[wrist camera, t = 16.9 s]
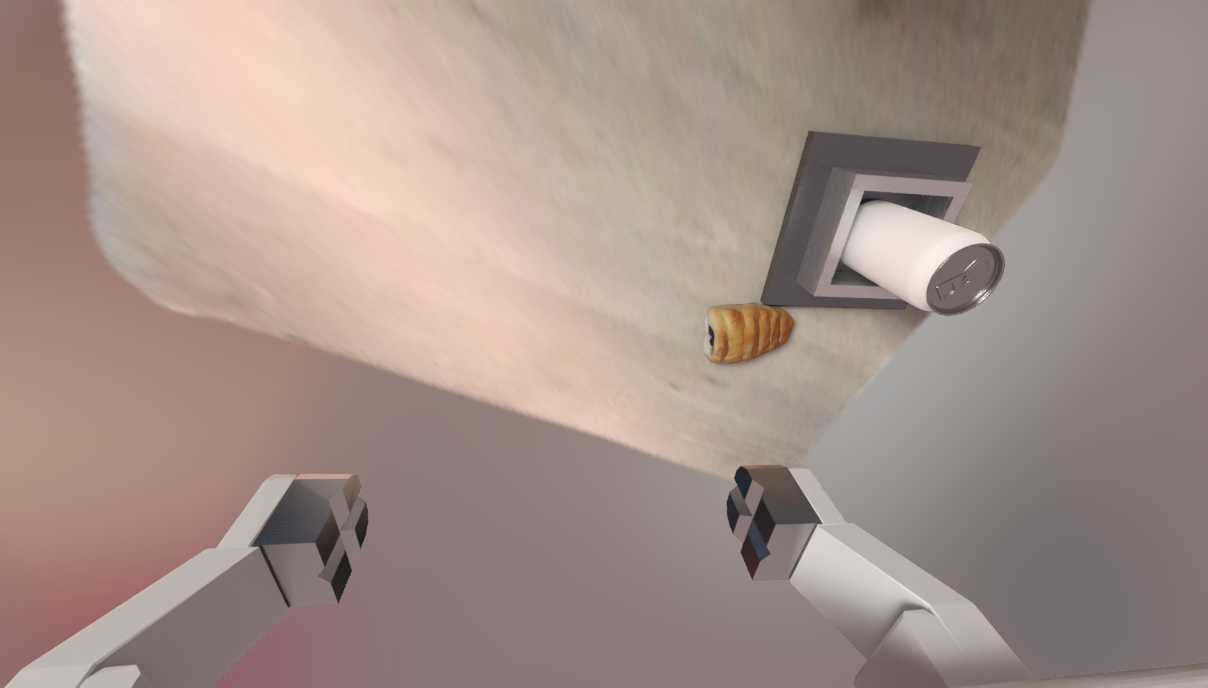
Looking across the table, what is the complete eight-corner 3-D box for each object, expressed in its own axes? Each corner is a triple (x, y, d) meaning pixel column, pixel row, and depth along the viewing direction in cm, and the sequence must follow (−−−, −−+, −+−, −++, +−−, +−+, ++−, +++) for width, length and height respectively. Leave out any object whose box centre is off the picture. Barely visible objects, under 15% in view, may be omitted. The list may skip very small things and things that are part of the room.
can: (906, 237, 43) (1018, 285, 33) (845, 278, 45) (934, 336, 34) (885, 183, 40) (1001, 218, 30) (821, 229, 42) (910, 276, 31)
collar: (808, 130, 38) (838, 136, 34) (971, 145, 40) (1016, 152, 36) (760, 300, 46) (779, 320, 42) (898, 305, 48) (928, 324, 44)
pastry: (789, 291, 46) (807, 307, 43) (782, 346, 50) (798, 364, 46) (701, 304, 46) (713, 321, 42) (700, 358, 49) (711, 377, 46)
